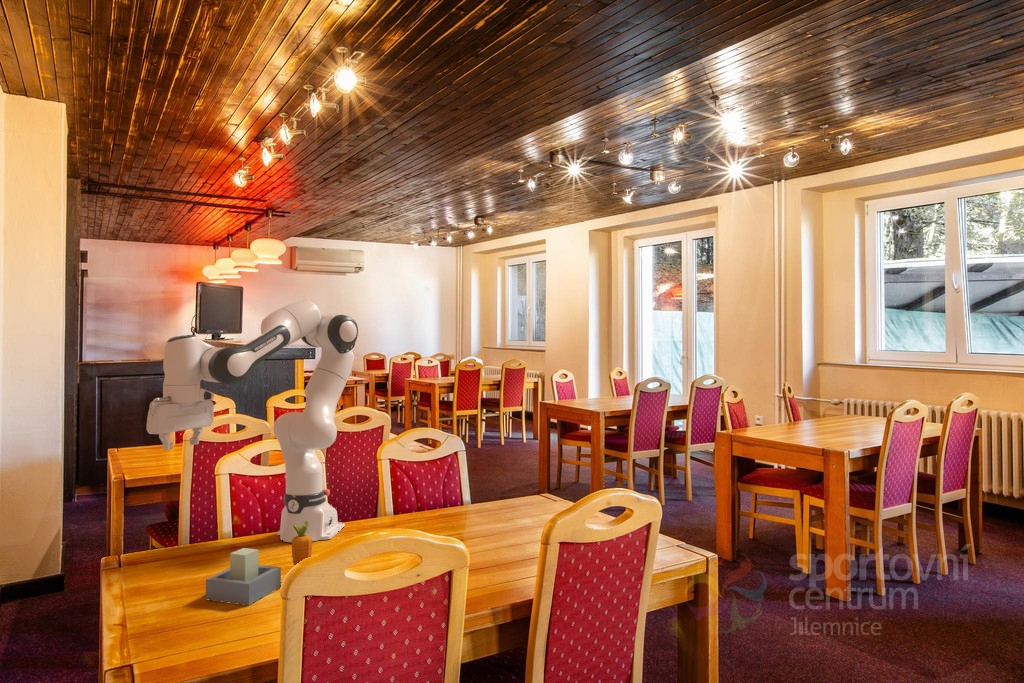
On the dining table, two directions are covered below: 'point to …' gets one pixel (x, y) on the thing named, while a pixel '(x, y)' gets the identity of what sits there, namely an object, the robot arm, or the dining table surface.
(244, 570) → the sage block
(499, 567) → the dining table surface
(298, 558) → the carrot
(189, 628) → the dining table surface
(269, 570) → the gray open box
